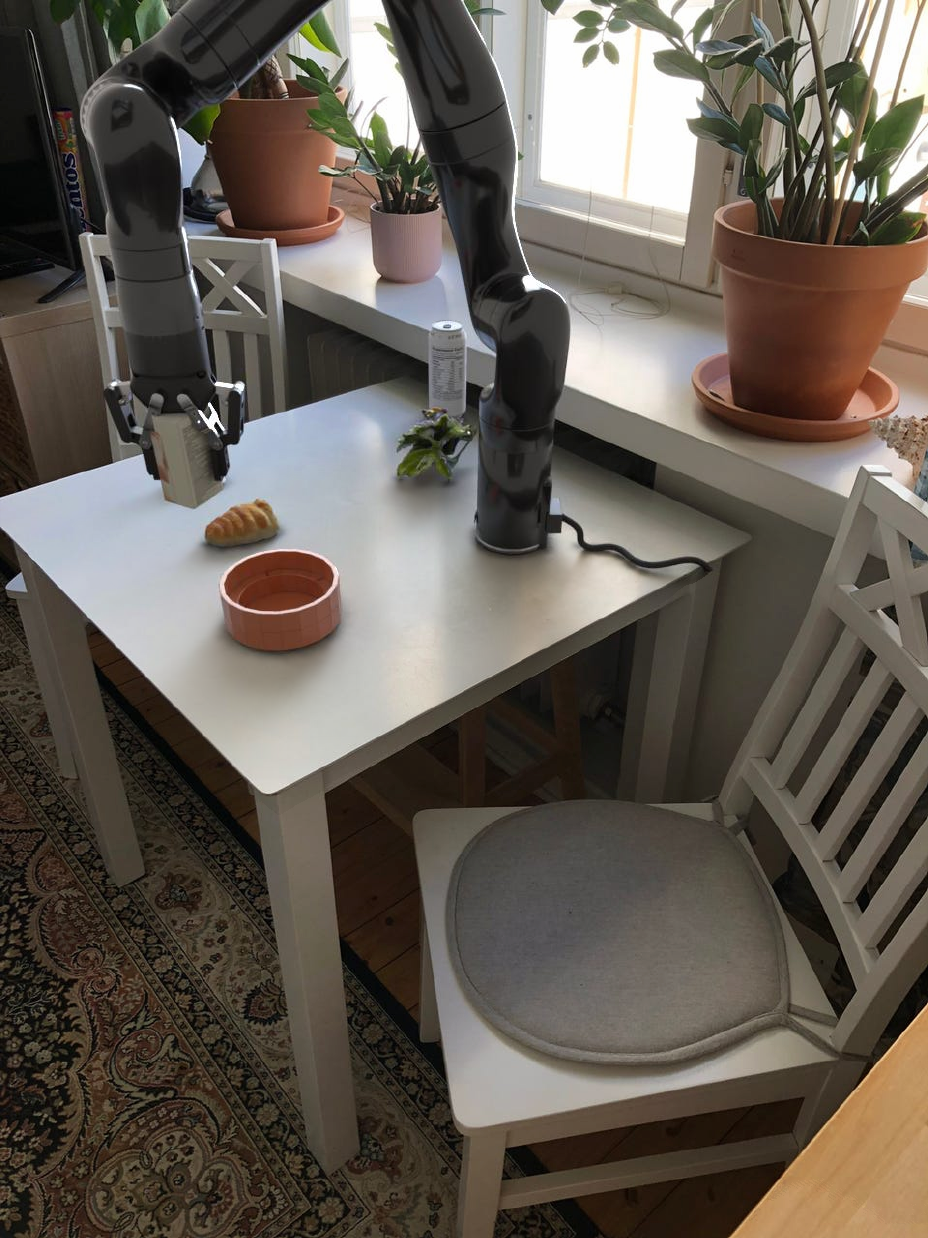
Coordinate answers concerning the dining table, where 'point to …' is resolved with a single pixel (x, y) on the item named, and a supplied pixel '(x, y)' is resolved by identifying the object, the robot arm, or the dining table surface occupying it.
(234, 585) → the bowl
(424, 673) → the dining table surface
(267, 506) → the pastry
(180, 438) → the printed white carton
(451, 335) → the energy drink can
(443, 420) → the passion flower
